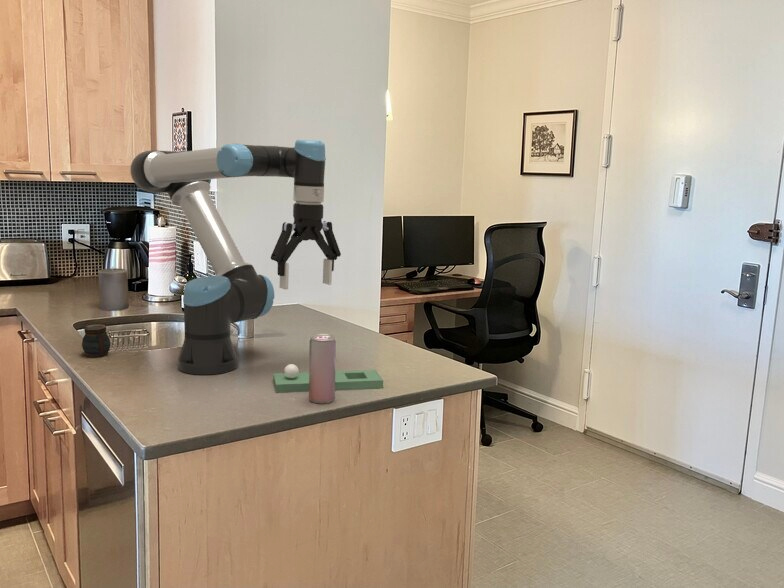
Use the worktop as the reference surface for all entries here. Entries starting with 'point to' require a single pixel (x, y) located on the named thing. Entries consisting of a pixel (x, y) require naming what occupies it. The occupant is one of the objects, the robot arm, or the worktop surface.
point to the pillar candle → (113, 289)
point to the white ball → (291, 371)
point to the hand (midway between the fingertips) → (305, 286)
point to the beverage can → (322, 368)
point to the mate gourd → (95, 340)
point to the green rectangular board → (342, 381)
